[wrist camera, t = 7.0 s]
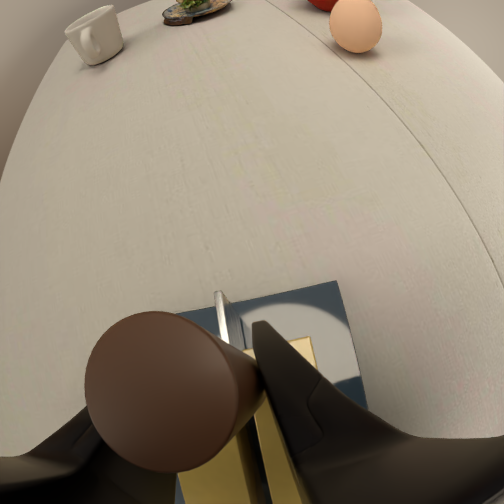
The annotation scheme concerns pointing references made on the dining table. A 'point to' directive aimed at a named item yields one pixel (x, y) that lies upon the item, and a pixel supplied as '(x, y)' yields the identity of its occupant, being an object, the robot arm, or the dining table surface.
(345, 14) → the egg
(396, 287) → the dining table surface
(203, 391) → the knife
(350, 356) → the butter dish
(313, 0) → the apple
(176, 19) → the burger
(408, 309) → the dining table surface
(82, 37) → the cup
